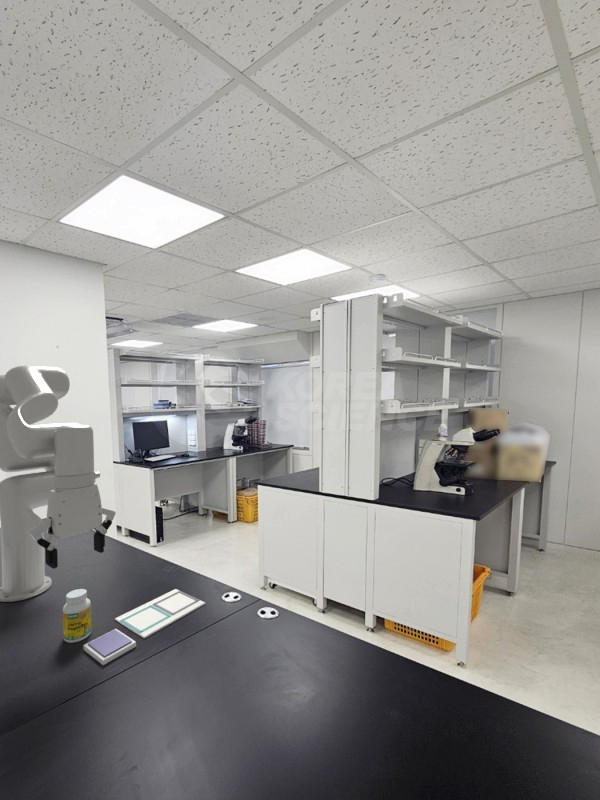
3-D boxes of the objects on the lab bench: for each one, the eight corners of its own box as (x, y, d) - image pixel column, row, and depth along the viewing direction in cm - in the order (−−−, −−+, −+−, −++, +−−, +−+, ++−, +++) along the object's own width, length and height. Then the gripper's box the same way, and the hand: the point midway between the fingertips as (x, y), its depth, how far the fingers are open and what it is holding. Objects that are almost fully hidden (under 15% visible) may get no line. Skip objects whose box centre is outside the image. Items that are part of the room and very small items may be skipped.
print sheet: (115, 620, 92) (115, 618, 92) (175, 590, 106) (175, 588, 106) (144, 638, 85) (144, 636, 85) (205, 604, 99) (205, 602, 99)
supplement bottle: (90, 625, 90) (89, 584, 90) (92, 638, 85) (91, 594, 85) (62, 634, 87) (62, 591, 87) (63, 647, 82) (63, 602, 82)
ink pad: (83, 649, 81) (83, 643, 81) (116, 632, 87) (115, 627, 87) (103, 665, 77) (103, 658, 77) (136, 646, 82) (136, 640, 82)
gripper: (105, 472, 95) (106, 542, 95) (22, 486, 81) (24, 569, 81) (121, 476, 90) (123, 549, 90) (37, 491, 76) (39, 578, 76)
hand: (76, 558), depth 86 cm, fingers open, 9 cm apart
